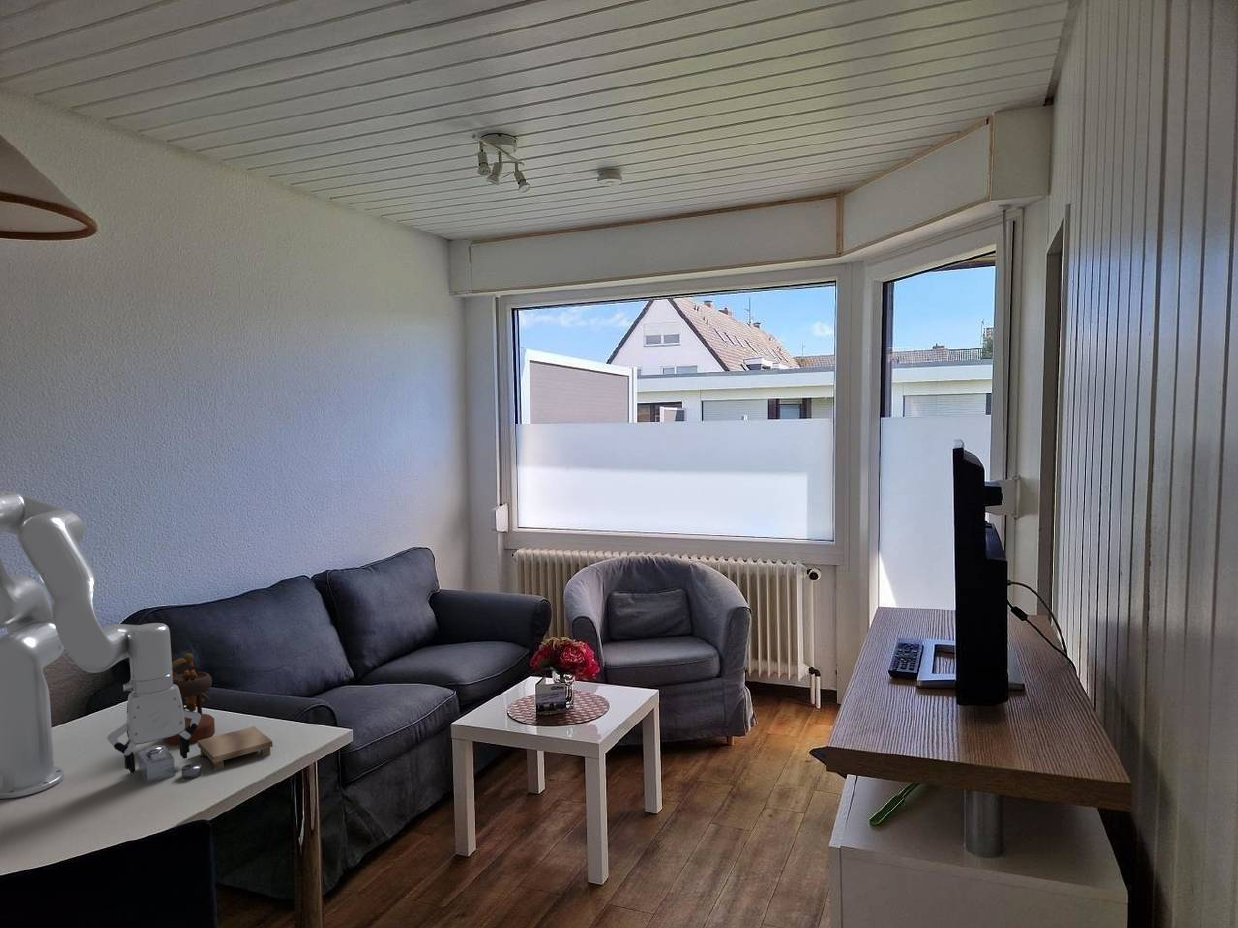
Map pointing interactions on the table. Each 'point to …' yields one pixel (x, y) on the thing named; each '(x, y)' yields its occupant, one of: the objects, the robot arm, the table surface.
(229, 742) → the stand
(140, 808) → the table surface
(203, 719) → the music box
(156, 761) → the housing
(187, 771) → the dark grey round piece
